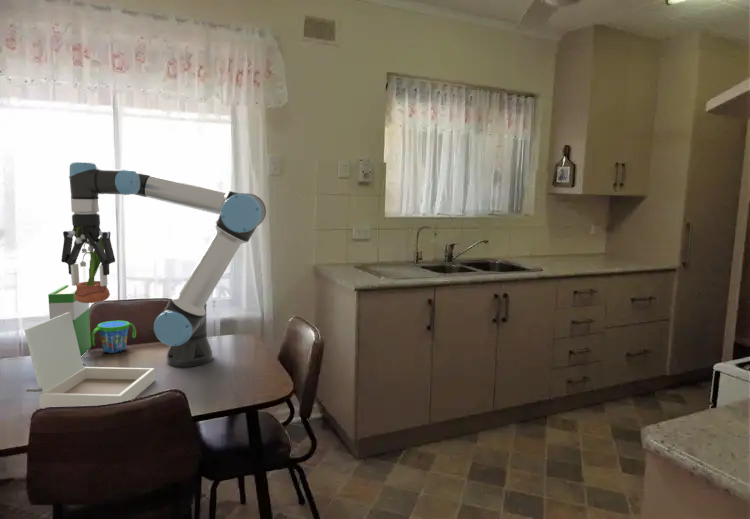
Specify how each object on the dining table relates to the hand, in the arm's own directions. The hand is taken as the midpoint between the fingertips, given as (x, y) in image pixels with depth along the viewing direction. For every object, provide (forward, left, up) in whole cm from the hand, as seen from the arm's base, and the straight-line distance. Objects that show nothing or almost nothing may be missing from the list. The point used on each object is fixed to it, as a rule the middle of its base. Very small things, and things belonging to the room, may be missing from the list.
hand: (89, 285), depth 163 cm
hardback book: (+18, -18, -29) cm, 39 cm away
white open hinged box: (-9, +16, -29) cm, 34 cm away
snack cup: (+6, -24, -29) cm, 39 cm away
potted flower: (0, 0, -6) cm, 6 cm away
